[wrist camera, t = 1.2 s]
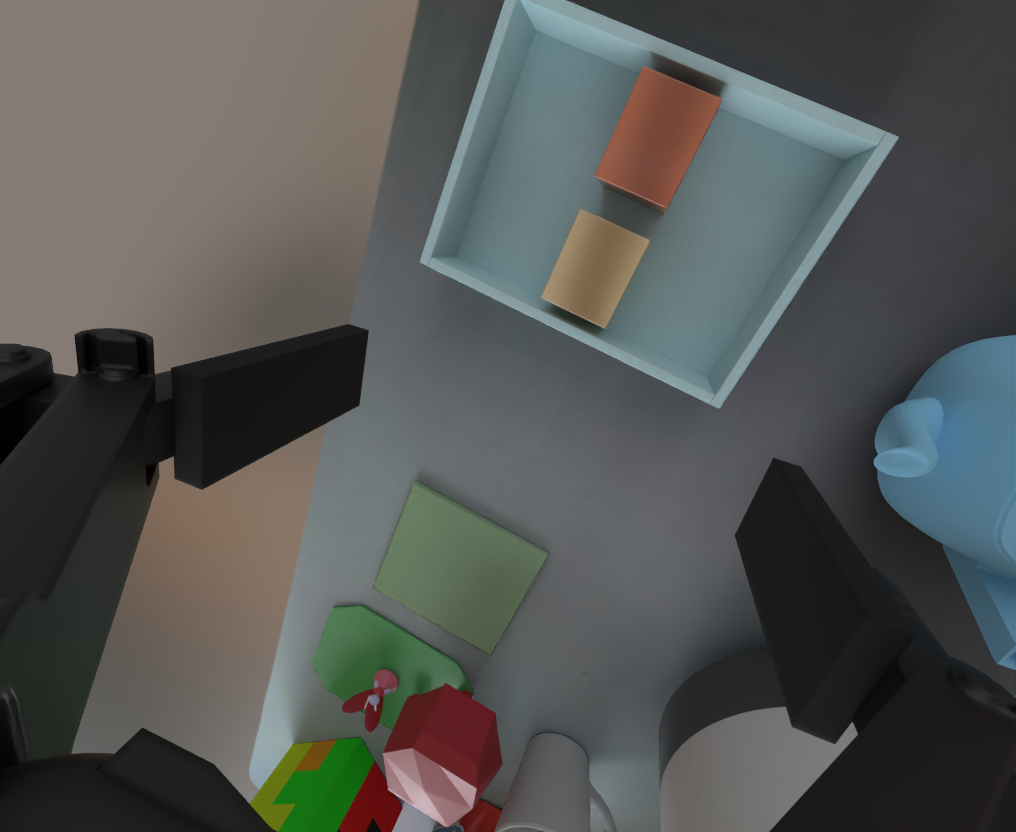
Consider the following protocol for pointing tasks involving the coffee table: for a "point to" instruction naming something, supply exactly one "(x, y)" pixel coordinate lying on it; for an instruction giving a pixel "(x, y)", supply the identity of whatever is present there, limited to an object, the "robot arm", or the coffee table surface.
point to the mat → (457, 568)
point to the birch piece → (594, 268)
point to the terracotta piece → (656, 139)
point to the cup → (553, 790)
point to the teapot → (962, 476)
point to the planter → (735, 750)
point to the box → (673, 236)
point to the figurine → (475, 819)
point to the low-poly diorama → (412, 711)
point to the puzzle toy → (327, 790)
